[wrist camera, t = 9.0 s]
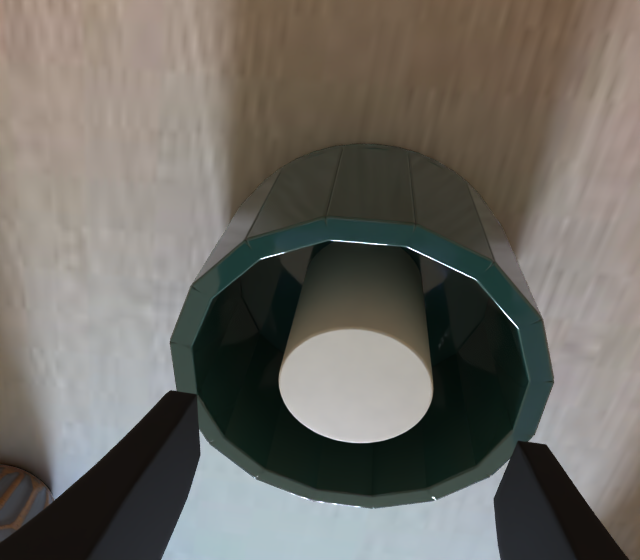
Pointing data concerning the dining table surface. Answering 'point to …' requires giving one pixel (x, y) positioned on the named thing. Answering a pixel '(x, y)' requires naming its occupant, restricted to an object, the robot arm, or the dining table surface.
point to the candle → (359, 345)
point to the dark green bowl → (441, 315)
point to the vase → (20, 499)
